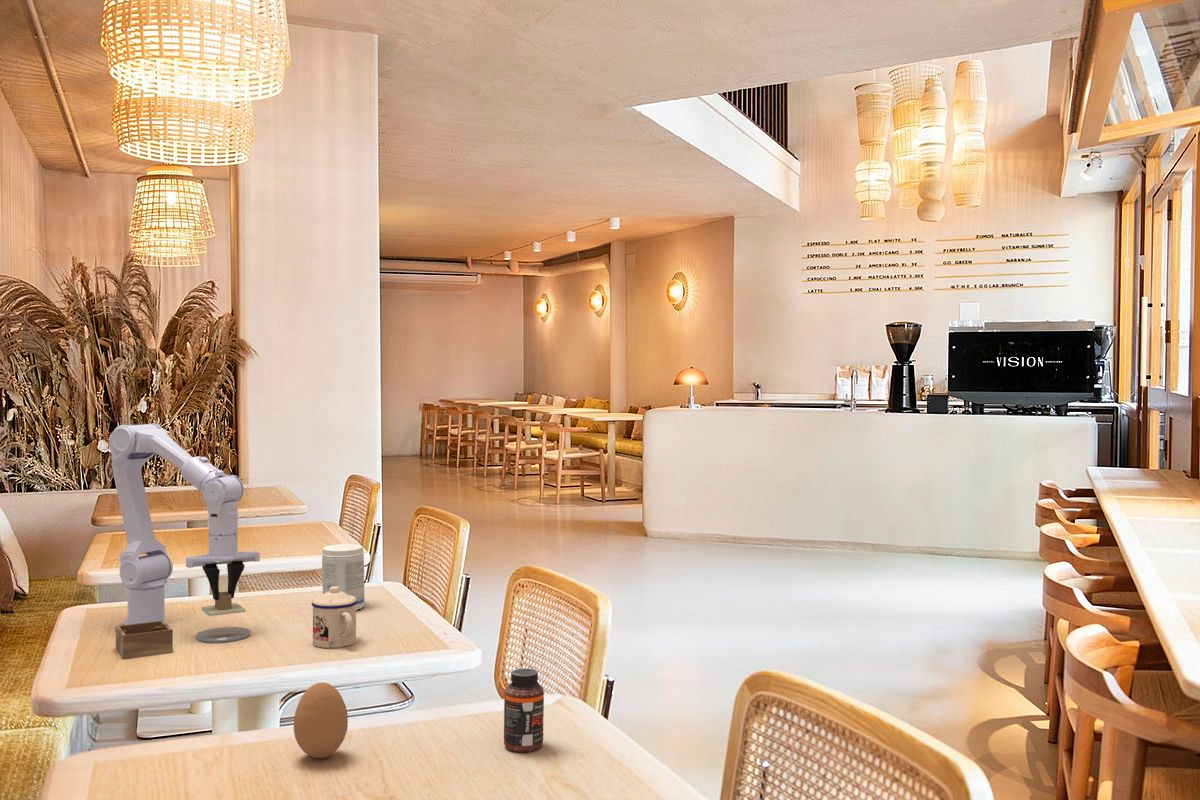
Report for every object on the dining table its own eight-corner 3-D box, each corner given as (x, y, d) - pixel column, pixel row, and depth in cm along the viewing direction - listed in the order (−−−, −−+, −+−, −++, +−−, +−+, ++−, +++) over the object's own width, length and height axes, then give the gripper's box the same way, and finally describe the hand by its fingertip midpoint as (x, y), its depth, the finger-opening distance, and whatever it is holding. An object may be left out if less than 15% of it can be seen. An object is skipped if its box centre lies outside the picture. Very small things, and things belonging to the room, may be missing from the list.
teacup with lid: (304, 642, 212) (304, 586, 211) (345, 635, 218) (345, 580, 217) (329, 655, 202) (329, 596, 202) (371, 647, 208) (371, 590, 208)
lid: (201, 609, 217) (201, 592, 217) (236, 605, 221) (236, 588, 221) (209, 616, 211) (209, 598, 211) (245, 612, 215) (245, 594, 215)
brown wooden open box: (115, 648, 206) (115, 626, 205) (163, 642, 211) (163, 620, 210) (123, 659, 198) (123, 635, 198) (172, 652, 203) (172, 629, 203)
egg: (290, 751, 151) (290, 678, 151) (342, 744, 154) (343, 673, 154) (297, 770, 144) (297, 693, 144) (352, 762, 147) (352, 687, 147)
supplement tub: (364, 603, 247) (364, 543, 247) (364, 612, 238) (364, 549, 238) (322, 605, 245) (322, 544, 245) (321, 614, 236) (321, 550, 236)
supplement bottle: (538, 755, 151) (539, 678, 150) (499, 752, 152) (499, 676, 151) (547, 740, 157) (547, 667, 156) (509, 738, 158) (510, 665, 157)
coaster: (189, 634, 217) (189, 631, 217) (243, 627, 223) (243, 624, 223) (202, 645, 208) (202, 642, 208) (257, 638, 214) (257, 635, 214)
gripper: (191, 539, 208) (191, 606, 208) (263, 533, 216) (263, 597, 216) (183, 534, 214) (183, 599, 214) (254, 529, 222) (254, 591, 222)
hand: (223, 598), depth 216 cm, fingers closed on lid, 2 cm apart
